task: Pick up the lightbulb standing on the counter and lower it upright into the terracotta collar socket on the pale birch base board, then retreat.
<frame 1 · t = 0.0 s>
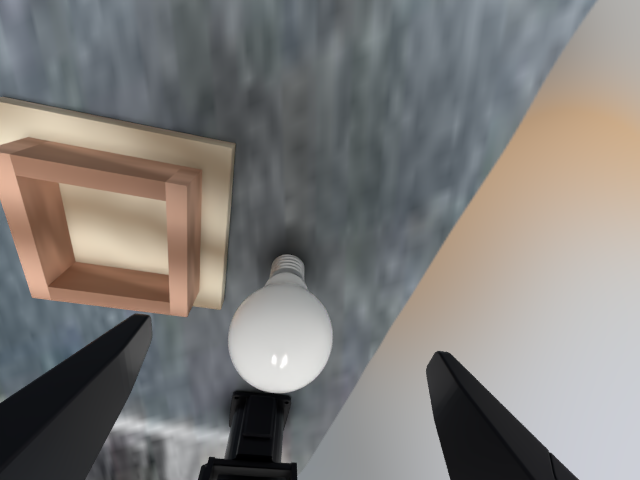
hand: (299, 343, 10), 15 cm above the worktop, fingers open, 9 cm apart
holder: (134, 217, 23), on the worktop
lightbulb: (288, 262, 26), on the worktop
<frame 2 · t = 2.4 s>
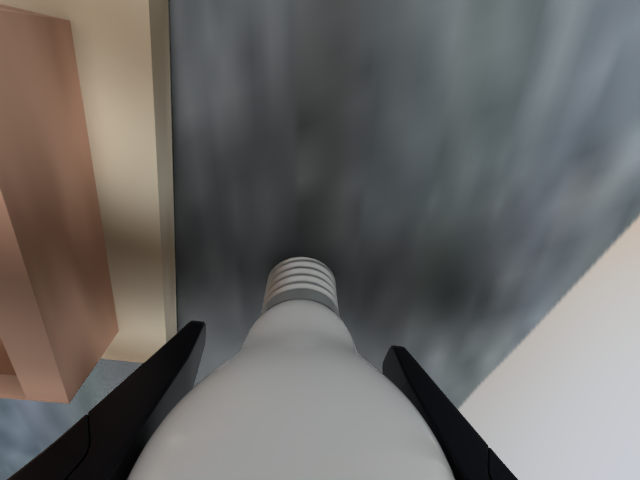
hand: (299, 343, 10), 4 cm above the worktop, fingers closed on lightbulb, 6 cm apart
lightbulb: (301, 271, 13), on the worktop, touching gripper
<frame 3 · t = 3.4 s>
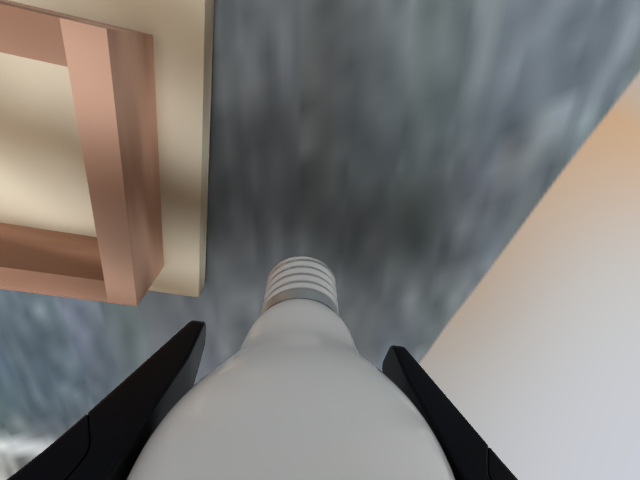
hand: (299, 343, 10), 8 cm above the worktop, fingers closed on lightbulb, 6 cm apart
holder: (50, 141, 14), on the worktop
lightbulb: (301, 271, 13), point 4 cm above the worktop, touching gripper
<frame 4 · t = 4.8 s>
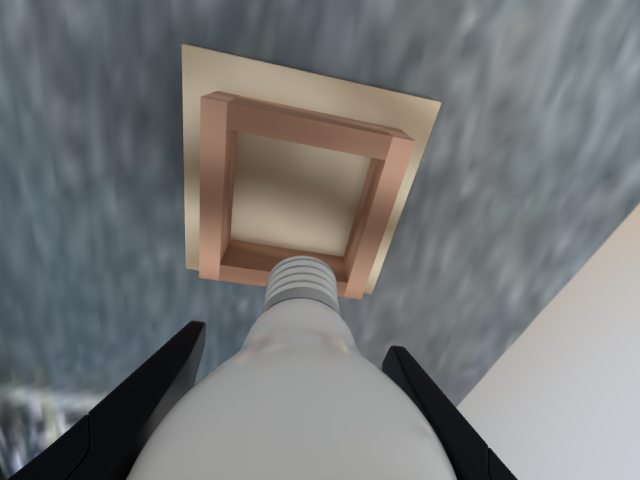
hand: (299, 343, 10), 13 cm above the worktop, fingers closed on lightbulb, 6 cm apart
holder: (297, 189, 21), on the worktop
lightbulb: (302, 270, 13), point 9 cm above the worktop, touching gripper
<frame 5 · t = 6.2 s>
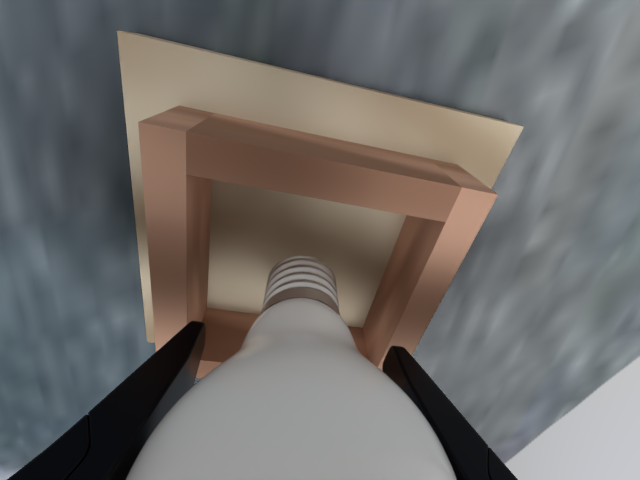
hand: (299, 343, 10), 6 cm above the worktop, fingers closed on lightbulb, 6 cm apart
holder: (301, 240, 15), on the worktop
lightbulb: (302, 270, 13), point 2 cm above the worktop, touching gripper
when the fingers open (6 cm above the worktop, at t = 7.2 s): lightbulb drops 1 cm, resting on holder.
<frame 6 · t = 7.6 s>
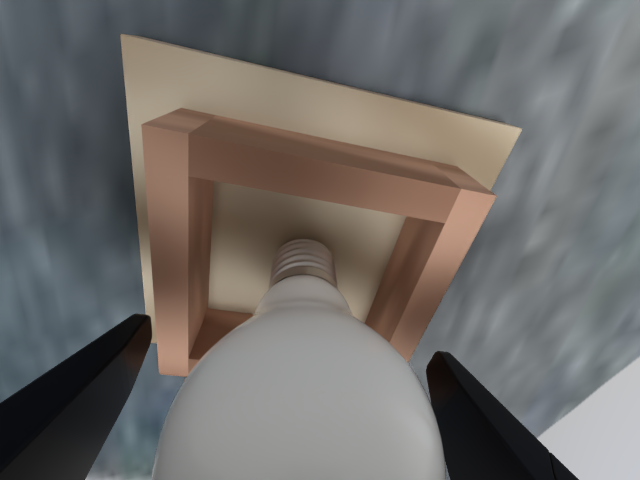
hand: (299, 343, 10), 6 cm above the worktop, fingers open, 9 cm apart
holder: (302, 241, 15), on the worktop
lightbulb: (303, 253, 14), point 1 cm above the worktop, touching holder
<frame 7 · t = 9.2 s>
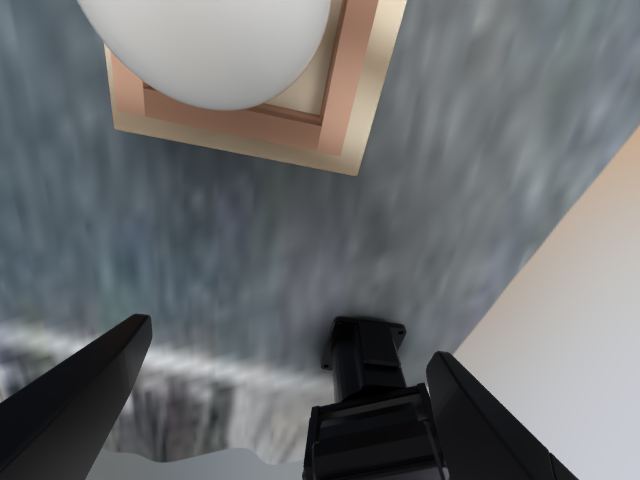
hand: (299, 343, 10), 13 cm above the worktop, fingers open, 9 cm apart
holder: (257, 11, 16), on the worktop
lightbulb: (256, 11, 15), point 1 cm above the worktop, touching holder
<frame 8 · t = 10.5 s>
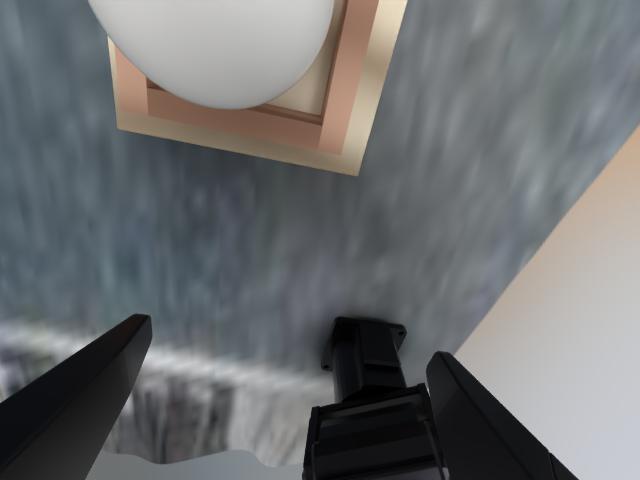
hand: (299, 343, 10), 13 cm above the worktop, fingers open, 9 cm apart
holder: (259, 13, 16), on the worktop
lightbulb: (258, 12, 15), point 1 cm above the worktop, touching holder
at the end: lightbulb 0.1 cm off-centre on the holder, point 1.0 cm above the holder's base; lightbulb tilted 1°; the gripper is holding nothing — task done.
